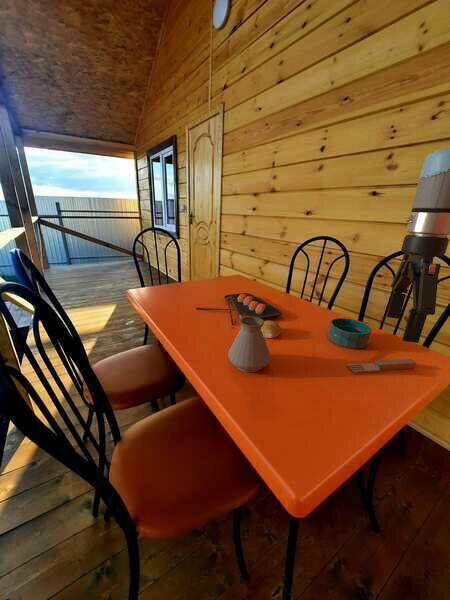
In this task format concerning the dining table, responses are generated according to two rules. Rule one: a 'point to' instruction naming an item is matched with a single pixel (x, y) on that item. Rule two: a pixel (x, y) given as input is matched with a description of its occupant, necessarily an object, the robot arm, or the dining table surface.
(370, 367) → the fork
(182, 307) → the dining table surface
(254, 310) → the sushi plate
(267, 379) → the dining table surface
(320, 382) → the dining table surface
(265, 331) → the bread roll
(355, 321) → the bowl
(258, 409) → the dining table surface
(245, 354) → the coffee pot
